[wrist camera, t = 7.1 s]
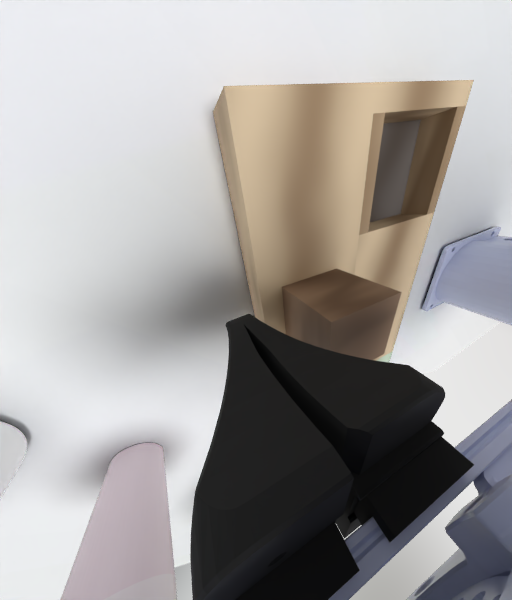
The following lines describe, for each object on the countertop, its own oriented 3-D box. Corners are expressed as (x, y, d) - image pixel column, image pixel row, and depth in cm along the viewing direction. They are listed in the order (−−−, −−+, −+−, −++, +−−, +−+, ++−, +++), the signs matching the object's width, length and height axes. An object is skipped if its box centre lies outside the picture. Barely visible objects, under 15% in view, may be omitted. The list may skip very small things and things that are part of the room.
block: (336, 268, 12) (401, 292, 8) (332, 318, 14) (384, 353, 10) (281, 286, 11) (331, 321, 7) (286, 338, 13) (327, 384, 9)
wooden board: (430, 98, 11) (517, 61, 9) (366, 380, 25) (391, 402, 23) (213, 111, 8) (237, 55, 5) (278, 431, 22) (294, 465, 19)
